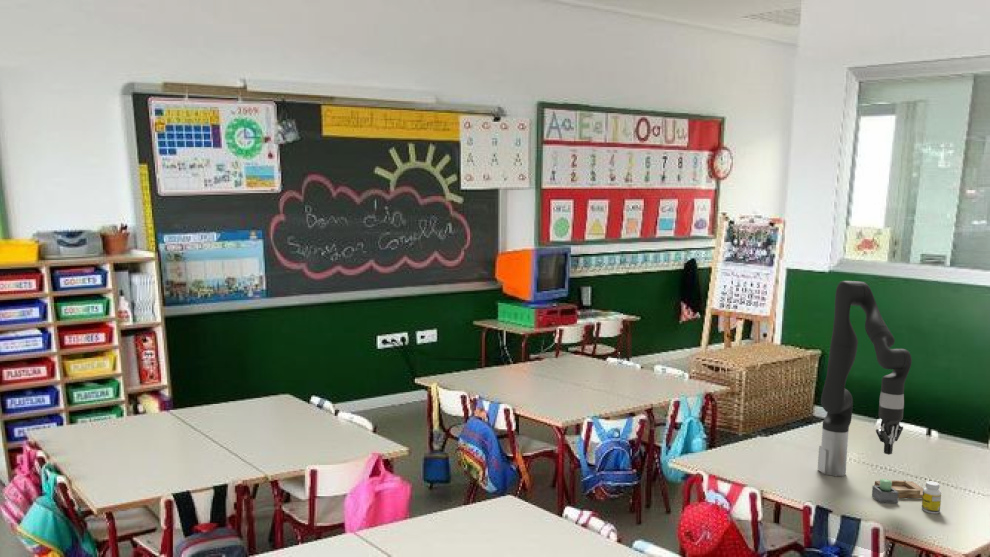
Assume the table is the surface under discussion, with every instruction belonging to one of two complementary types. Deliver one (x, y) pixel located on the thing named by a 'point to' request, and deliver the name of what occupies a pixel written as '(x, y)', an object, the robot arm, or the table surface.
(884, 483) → the button
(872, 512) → the table surface
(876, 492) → the button box
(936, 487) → the supplement bottle
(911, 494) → the pallet board
